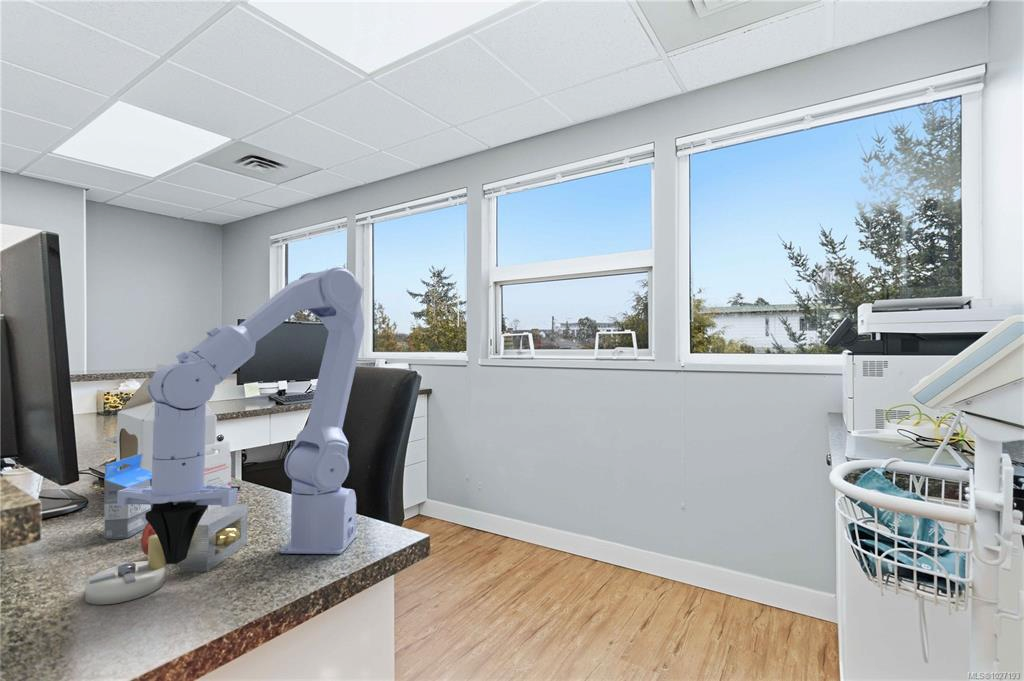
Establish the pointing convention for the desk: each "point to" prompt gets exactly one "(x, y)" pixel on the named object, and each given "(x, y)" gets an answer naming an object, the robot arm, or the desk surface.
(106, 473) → the label tape box
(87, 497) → the desk surface
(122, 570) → the wheel spindle
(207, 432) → the gable box
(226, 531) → the hook rod
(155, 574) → the lock wheel
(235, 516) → the eye block
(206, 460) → the ink cartridge box
